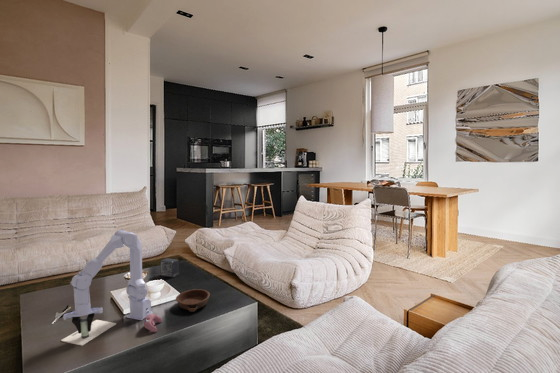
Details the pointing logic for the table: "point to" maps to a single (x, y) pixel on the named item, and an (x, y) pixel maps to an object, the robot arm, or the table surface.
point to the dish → (193, 299)
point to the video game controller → (152, 322)
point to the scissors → (60, 314)
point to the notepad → (96, 330)
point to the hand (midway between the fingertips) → (84, 331)
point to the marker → (84, 328)
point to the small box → (169, 267)
